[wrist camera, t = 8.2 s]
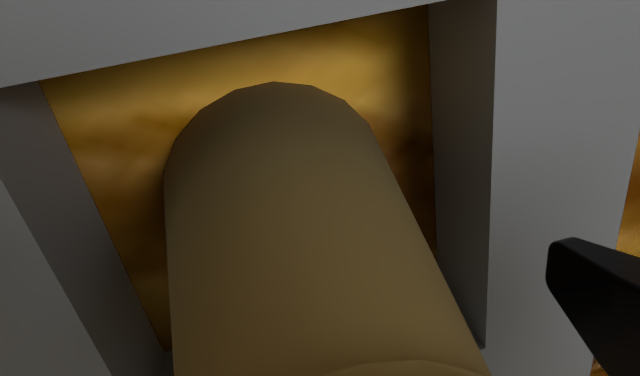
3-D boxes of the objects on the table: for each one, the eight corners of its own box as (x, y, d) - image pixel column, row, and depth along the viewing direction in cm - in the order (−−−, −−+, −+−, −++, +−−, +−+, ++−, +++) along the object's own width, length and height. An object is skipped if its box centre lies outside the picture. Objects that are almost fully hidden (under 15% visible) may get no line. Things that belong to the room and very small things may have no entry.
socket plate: (582, -234, 9) (730, -315, 6) (527, 327, 17) (585, 395, 14) (-288, -110, 7) (-566, -150, 5) (93, 451, 15) (66, 554, 12)
